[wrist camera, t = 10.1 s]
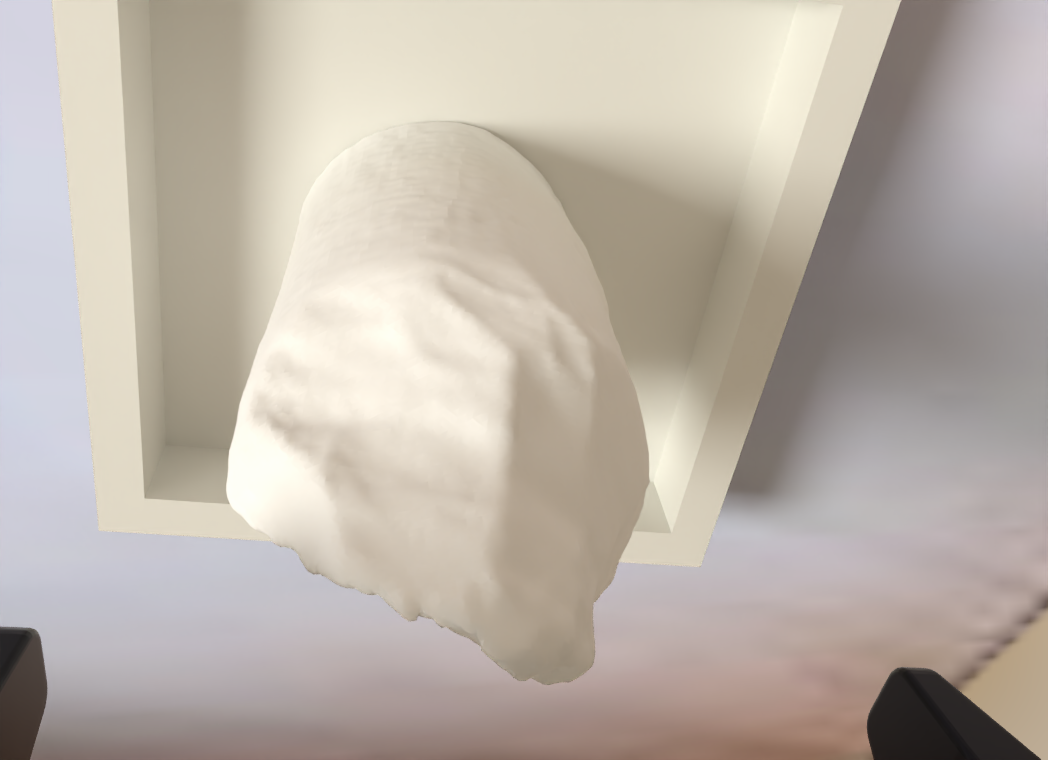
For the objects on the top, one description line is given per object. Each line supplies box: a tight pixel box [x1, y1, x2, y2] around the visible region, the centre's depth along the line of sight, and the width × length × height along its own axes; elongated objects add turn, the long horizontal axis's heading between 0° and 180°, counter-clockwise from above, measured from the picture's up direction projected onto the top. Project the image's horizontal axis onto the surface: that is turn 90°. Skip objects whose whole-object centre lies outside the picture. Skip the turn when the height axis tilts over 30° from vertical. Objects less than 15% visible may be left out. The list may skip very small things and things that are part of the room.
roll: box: [226, 122, 650, 685], centre depth 15 cm, size 6×12×6 cm
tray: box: [52, 0, 901, 567], centre depth 19 cm, size 14×14×3 cm
